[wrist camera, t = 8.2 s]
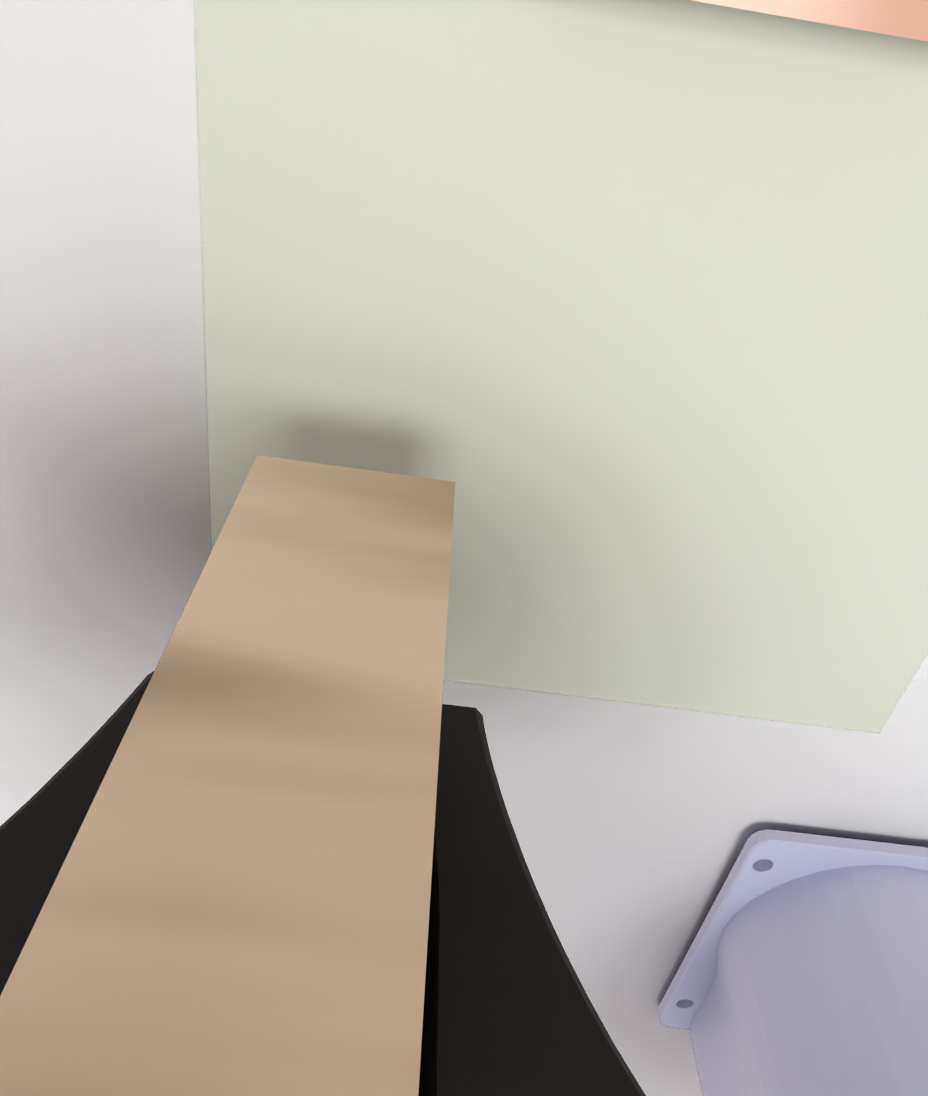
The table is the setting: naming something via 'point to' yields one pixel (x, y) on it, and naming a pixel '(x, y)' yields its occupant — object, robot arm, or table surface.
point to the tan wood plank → (261, 820)
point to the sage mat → (593, 326)
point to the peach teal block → (847, 14)
